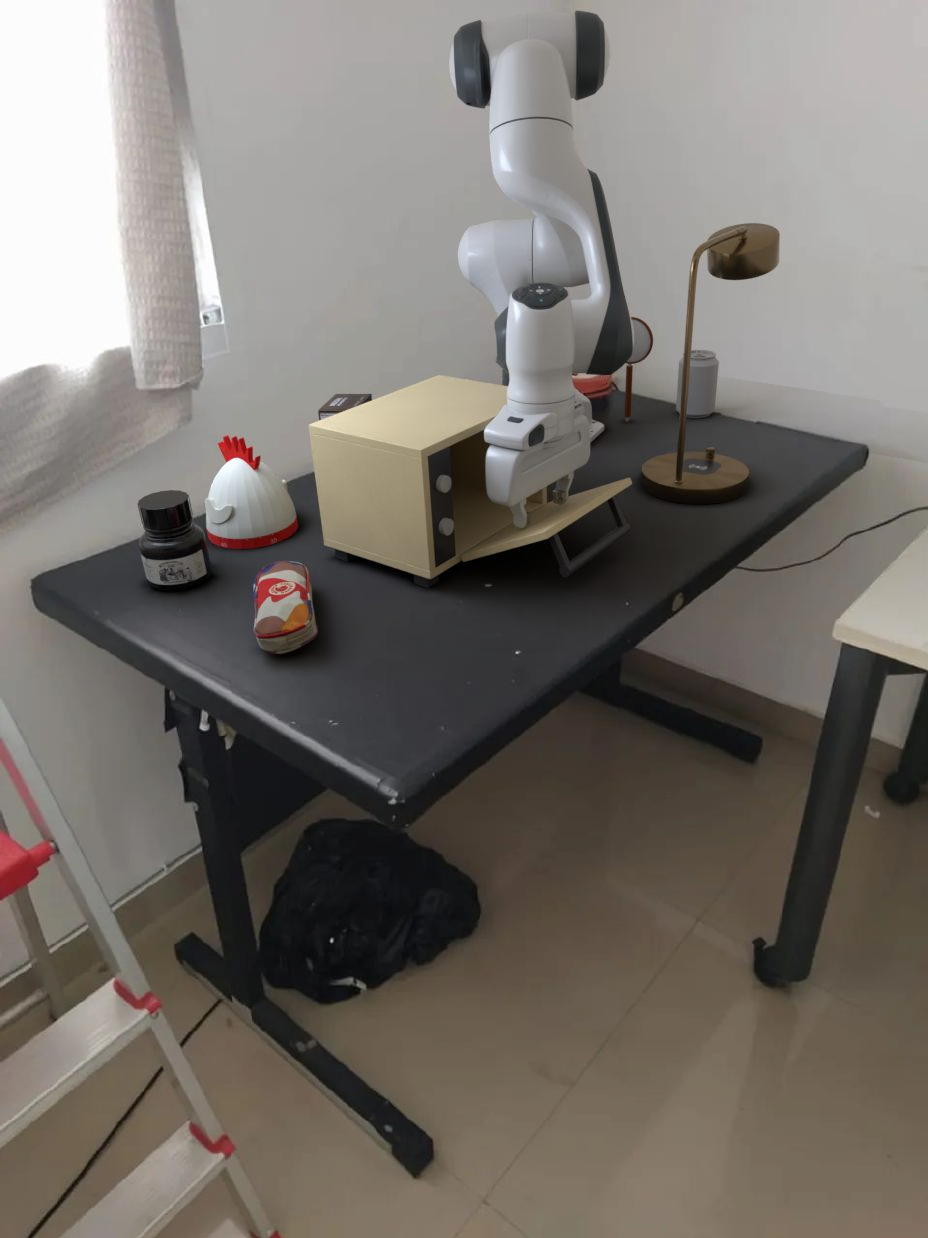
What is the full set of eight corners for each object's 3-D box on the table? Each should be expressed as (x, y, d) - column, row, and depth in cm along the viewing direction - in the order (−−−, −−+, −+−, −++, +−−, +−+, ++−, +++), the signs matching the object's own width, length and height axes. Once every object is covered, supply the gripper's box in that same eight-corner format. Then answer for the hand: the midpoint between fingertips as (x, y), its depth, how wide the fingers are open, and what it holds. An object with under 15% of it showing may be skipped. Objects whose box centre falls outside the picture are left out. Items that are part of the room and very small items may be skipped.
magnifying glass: (604, 420, 186) (607, 316, 176) (607, 418, 187) (611, 314, 177) (647, 425, 182) (652, 319, 172) (650, 422, 183) (655, 317, 173)
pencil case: (224, 661, 113) (217, 625, 111) (262, 585, 130) (257, 553, 128) (314, 660, 113) (309, 624, 110) (341, 584, 130) (337, 551, 127)
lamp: (783, 458, 163) (813, 222, 145) (723, 512, 144) (749, 249, 126) (690, 443, 172) (707, 218, 154) (622, 492, 153) (632, 243, 135)
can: (676, 419, 184) (680, 357, 178) (675, 407, 191) (679, 347, 185) (715, 419, 183) (720, 357, 177) (713, 407, 189) (718, 347, 184)
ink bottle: (138, 595, 130) (118, 514, 124) (153, 566, 137) (135, 489, 131) (209, 590, 130) (192, 509, 124) (220, 562, 138) (205, 485, 132)
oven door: (547, 502, 143) (630, 477, 132) (565, 545, 144) (648, 523, 133) (460, 555, 128) (544, 531, 117) (480, 602, 130) (565, 583, 119)
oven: (446, 494, 156) (438, 374, 146) (552, 521, 144) (551, 393, 135) (325, 557, 137) (308, 424, 127) (436, 594, 126) (426, 451, 116)
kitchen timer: (255, 506, 156) (240, 417, 148) (316, 522, 148) (303, 430, 141) (189, 536, 146) (169, 443, 139) (251, 556, 139) (233, 459, 131)
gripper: (563, 392, 132) (563, 485, 139) (475, 433, 119) (479, 534, 125) (602, 399, 129) (600, 493, 136) (516, 442, 115) (518, 544, 122)
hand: (541, 513), depth 130 cm, fingers open, 8 cm apart
